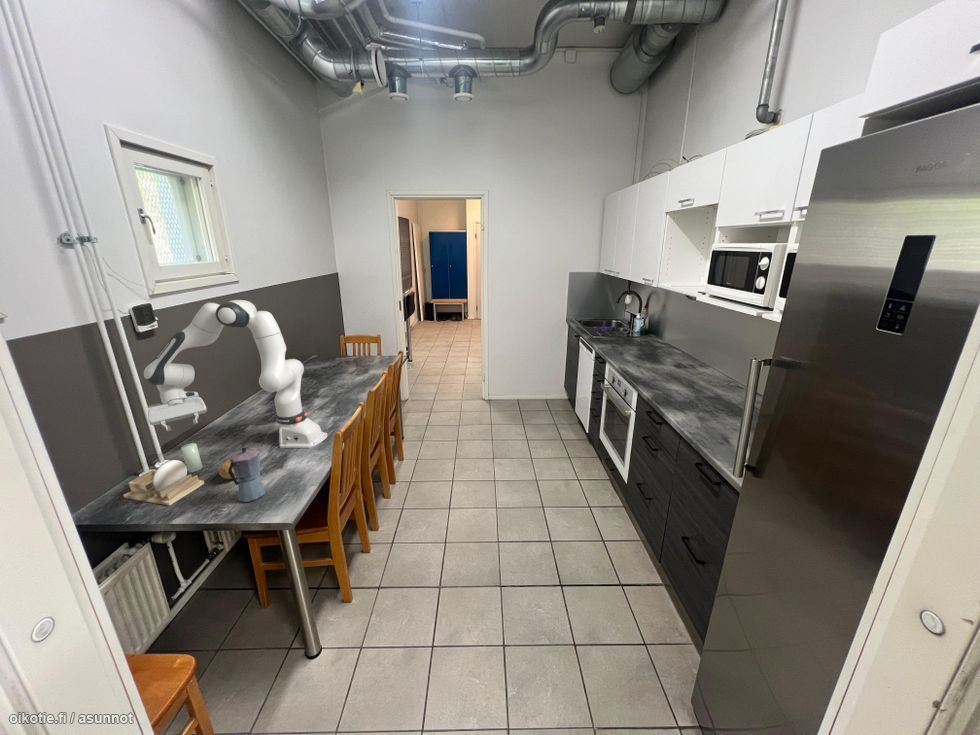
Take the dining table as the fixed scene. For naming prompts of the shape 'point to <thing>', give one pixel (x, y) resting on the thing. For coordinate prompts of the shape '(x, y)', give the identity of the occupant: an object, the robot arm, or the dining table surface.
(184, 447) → the pale green glossy part
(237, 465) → the moka pot
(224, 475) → the potato
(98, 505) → the dining table surface
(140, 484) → the rack
